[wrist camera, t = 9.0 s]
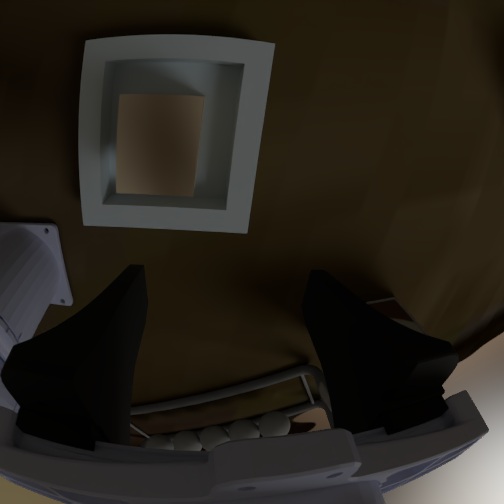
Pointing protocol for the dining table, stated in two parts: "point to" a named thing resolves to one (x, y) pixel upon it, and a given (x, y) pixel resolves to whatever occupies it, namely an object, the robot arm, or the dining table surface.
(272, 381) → the newton's cradle
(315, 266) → the dining table surface
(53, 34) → the dining table surface
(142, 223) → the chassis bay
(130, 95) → the beige cardboard-like cube
